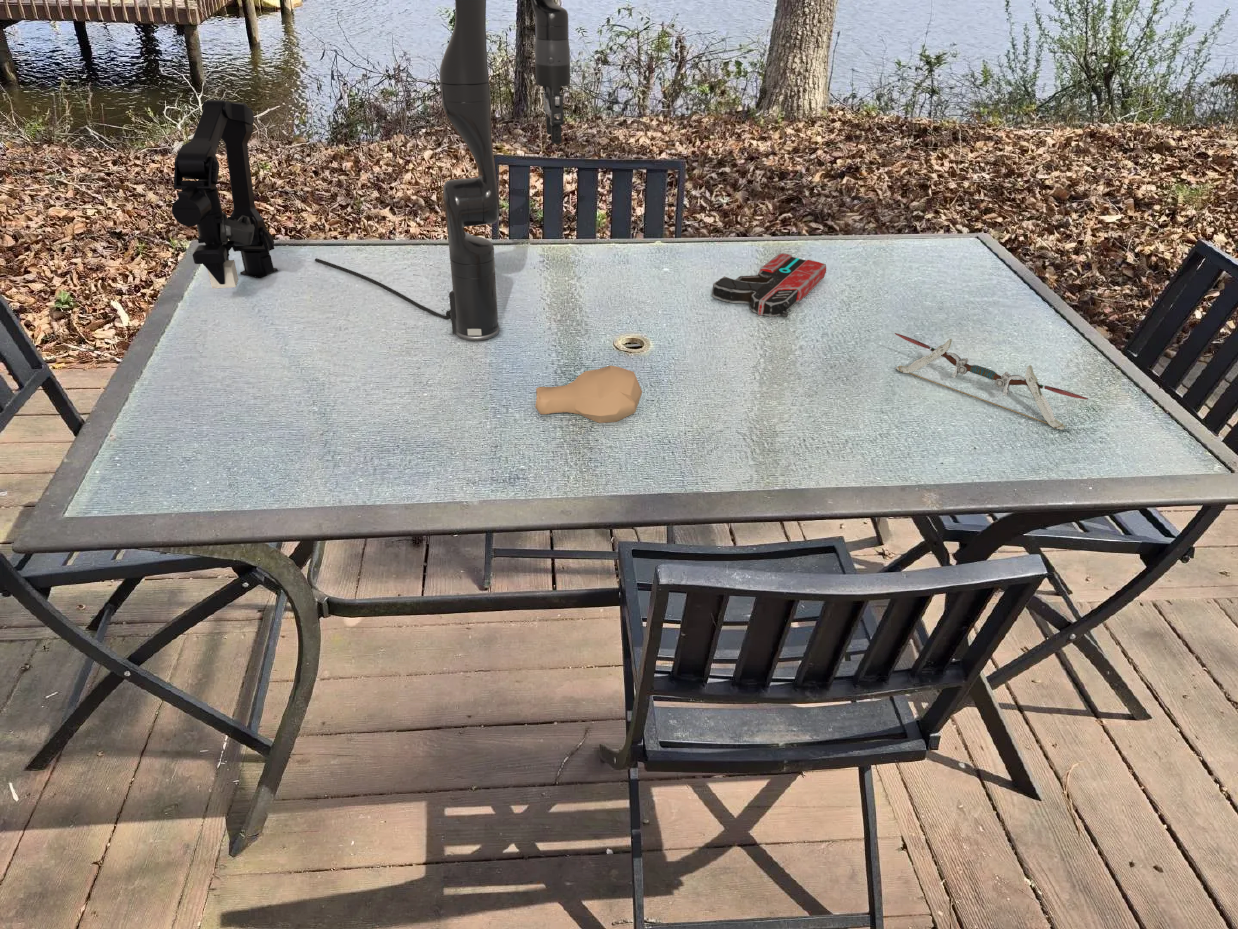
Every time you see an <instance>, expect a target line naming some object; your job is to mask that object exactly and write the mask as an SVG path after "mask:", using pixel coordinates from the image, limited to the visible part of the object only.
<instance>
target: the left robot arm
mask: <svg viewBox="0 0 1238 929" xmlns="http://www.w3.org/2000/svg"><path fill="white" fill-rule="evenodd" d="M254 122H255V115H254V112H253V109H252V108H251V107H250V106H249V107H248V105H247V103H245V102H231V101H229V100H227V101H226V100H225V99H206V100H204V101H203V102H202V112H201V116H200V118H199V121H198V122H197V126H196V128H195V132H194V134H193V135H192V139H191V140H190V141H188V142H186V143H184V144H183V145H182V146H181V147H180V149H179V150H178V152H177V154H176V156H175V158H174V168H173V169H174V170H173V189H174V190H180V191H178V192H177V198H178V199H176V200H175V201H174V202H173V203H172V206H171V213H172V216H173V218H174V219H175V221H177V222H178V223H179V224H180V225H183V226H185V227H195V226H196V229H197V232H198V237H197V243H198V244H199V245H197V247H196V248H195V249H194V251H193V253H192V255H191V256H192V259H193V260H192V261H193V263H194V265H203V266H204V267H205V268H206V270H207V269H208V270H209V272H210V273H211V274H212V275H213V277H214V278H215V279H216V280H217V281H218V283H219V284H225V269H224V262H226V260H230V251H231V249H232V251H233V252H240V255H241V259H242V264H243V268H244V270H242V271H240V272H239V273H240V275H241V276H246V277H250V278H254V279H258V280H259V279H260V280H261V279H263V278H265V277H267V276H270V275H272V274H273V273H276V272H278V271H279V269H278V268H277V267H274V264H273V259H272V255H271V253H270V251H274V250H275V249H276V248H275V241H274V240H275V239H274V236H273V235H272V234H271V232H270V231H269V229H268V228H267V227H266V225H265V220H264V218H263V216H262V215H261V214H260V213H259V211H258V210H257V208H256V204H255V196H254V189H253V188H254V186H253V180H252V172H251V164H250V163H251V162H250V155H249V154H250V153H249V147H248V143H249V141H250V140H251V137H252V135H253V134H254V124H255V123H254ZM221 140H222V142H223V143H224V145H225V153H226V160H227V168H228V174H229V183H230V189H231V190H230V191H231V197H232V205H233V209H232V212H231V214H230V216H228V213H226V211H223V208H222V204H221V203H222V202H221V199H220V194H219V190H218V186H217V185H218V184H219V175H220V174H219V173H220V162H219V159H218V158H217V151H218V147H219V145H220V143H221ZM183 179H184V180H183ZM208 270H207V271H208Z"/></svg>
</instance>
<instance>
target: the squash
mask: <svg viewBox="0 0 1238 929" xmlns="http://www.w3.org/2000/svg"><path fill="white" fill-rule="evenodd" d="M642 393H643V390H642V387H641V386H640V383H639V380H638V378H637V376H636V373H635V372H634V371H632V370H629V369H627V368H623V367H621V366H615V365H611V364H610V365H607V366H603V367H601V368H596V369H591V370H585V371H584V372H582V373H580V374H579V375H578V376H577V377H576V378H575V379H574V380H572V381H571V382H569V383H568V384H566V385H556V386H538V387H536V388H535V396H536V400H535V405H534V408H535V410H537V412H538V414H540V415H549V414H557V413H558V414H559V413H561V414H562V413H570V414H575V415H576V414H577V415H580V416H582V417H584V418H586V419H588V420H590V421H593V422H596V423H598V424H602V423H617V422H620V421H622V420H624V419H625V418H627V417H629V416H631V415H633V414H635V413H636V412H637V409H638V406H639V403H640V399H641V397H642Z"/></svg>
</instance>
